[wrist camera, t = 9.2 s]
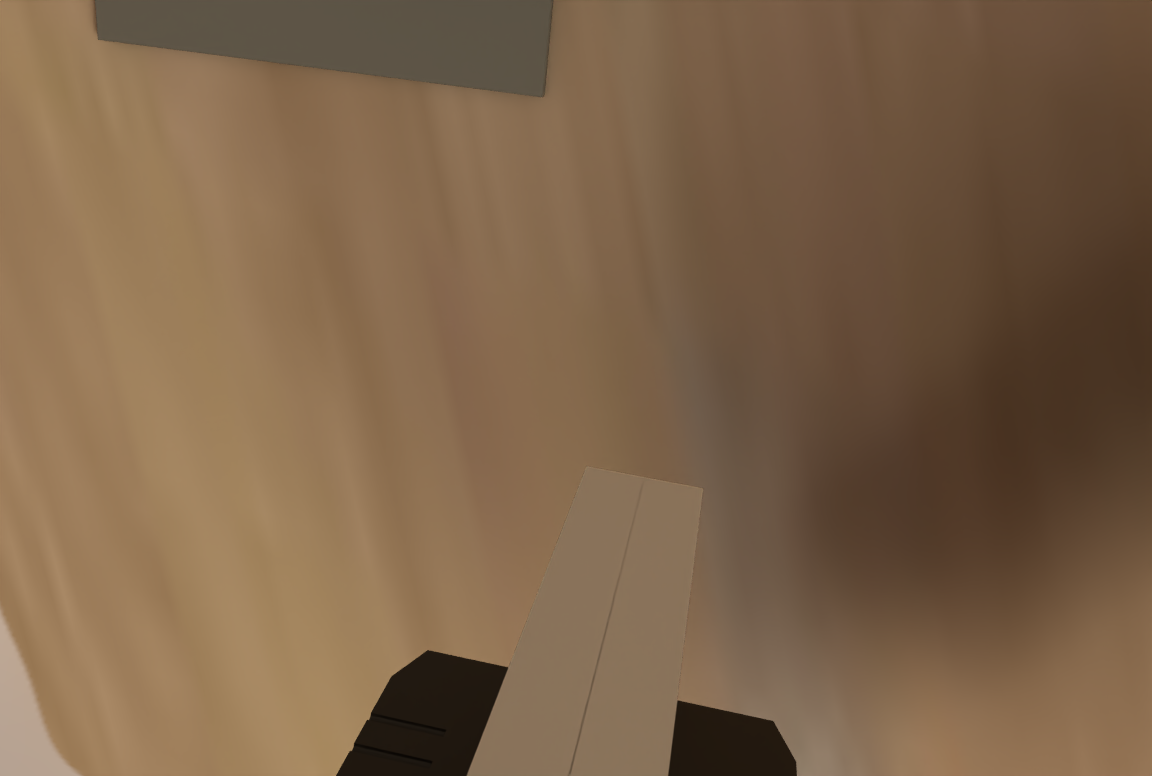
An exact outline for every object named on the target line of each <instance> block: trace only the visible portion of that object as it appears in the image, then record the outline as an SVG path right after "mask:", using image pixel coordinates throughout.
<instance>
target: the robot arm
mask: <svg viewBox="0 0 1152 776" xmlns="http://www.w3.org/2000/svg"><path fill="white" fill-rule="evenodd" d="M702 496H703V488H700V487H694V486H689V485H684V484H679V483H673V482H668V481H663V480H658V479H652V478H647V477H642V476H637V475H631V474H626V473H621V472H616V471H610V470H605V469H600V468H595V467H589V466H586V469H585V471H584V474H583V476H582V479H581V482H580V484H579V487H578V489H577V492H576V494H575V497H574V500H573V502H572V505H571V507H570V510H569V513H568V515H567V518H566V520H565V523H564V525H563V528H562V531H561V533H560V536H559V538H558V541H557V544H556V546H555V549H554V551H553V554H552V556H551V559H550V562H549V564H548V567H547V569H546V572H545V575H544V577H543V580H542V582H541V585H540V588H539V590H538V593H537V595H536V598H535V600H534V603H533V606H532V608H531V611H530V613H529V616H528V619H527V621H526V624H525V626H524V629H523V631H522V634H521V637H520V639H519V642H518V644H517V647H516V650H515V652H514V655H513V657H512V660H511V662H510V665H509V668H508V667H503V666H499V665H494V664H490V663H485V662H480V661H476V660H471V659H466V658H462V657H457V656H452V655H448V654H443V653H439V652H434V651H429V650H427V651H426V652H425V653H423V654H422V655H421V656H419V657H418V658H416V659H415V660H414V661H412V662H411V663H410V664H408V665H407V666H405V667H404V668H403V669H401V670H400V671H398V672H397V673H396V674H394V675H393V676H392V677H391V678H390V680H389V682H388V684H387V685H386V687H385V689H384V691H383V692H382V694H381V696H380V698H379V700H378V701H377V703H376V705H375V707H374V709H373V710H372V712H371V717H370V719H369V720H367V721H366V723H365V725H364V727H363V728H362V730H361V732H360V734H359V735H358V737H357V739H356V741H355V743H354V747H353V750H352V751H350V752H349V753H348V755H347V757H346V759H345V761H344V762H343V764H342V766H341V768H340V770H339V771H338V773H337V775H336V776H797V770H796V761H795V759H794V757H793V755H792V754H791V752H790V750H789V748H788V746H787V745H786V743H785V741H784V739H783V738H782V736H781V734H780V732H779V730H778V729H777V727H776V725H775V723H774V722H773V721H770V720H766V719H761V718H756V717H752V716H747V715H743V714H738V713H733V712H729V711H724V710H719V709H715V708H710V707H705V706H701V705H696V704H691V703H687V702H682V701H677V699H678V691H679V683H680V674H681V666H682V658H683V650H684V642H685V634H686V626H687V617H688V609H689V601H690V593H691V585H692V577H693V569H694V561H695V552H696V544H697V536H698V528H699V520H700V512H701V504H702Z"/></svg>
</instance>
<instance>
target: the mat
mask: <svg viewBox="0 0 1152 776" xmlns="http://www.w3.org/2000/svg"><path fill="white" fill-rule="evenodd" d="M95 5H96V20H97V34H98V40H105V41H113V42H120V43H128V44H136V45H143V46H151V47H159V48H167V49H174V50H182V51H190V52H197V53H205V54H213V55H221V56H228V57H236V58H244V59H251V60H259V61H267V62H275V63H282V64H290V65H298V66H305V67H313V68H321V69H329V70H336V71H344V72H352V73H359V74H367V75H375V76H383V77H390V78H398V79H406V80H413V81H421V82H429V83H437V84H444V85H452V86H460V87H467V88H475V89H483V90H490V91H498V92H506V93H514V94H521V95H529V96H537V97H544V94H545V83H546V73H547V62H548V51H549V40H550V30H551V19H552V8H553V0H95Z"/></svg>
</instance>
